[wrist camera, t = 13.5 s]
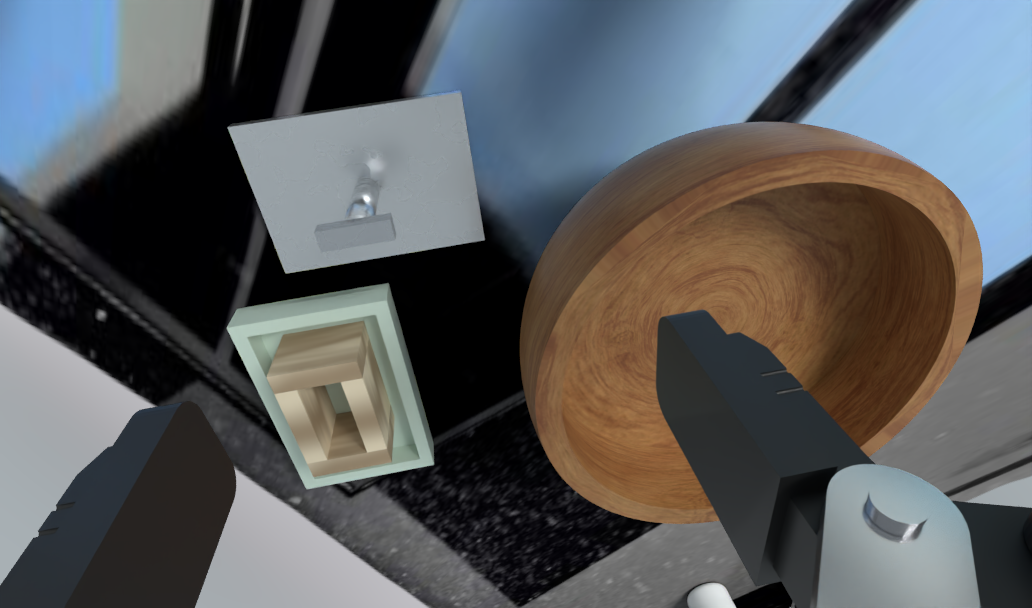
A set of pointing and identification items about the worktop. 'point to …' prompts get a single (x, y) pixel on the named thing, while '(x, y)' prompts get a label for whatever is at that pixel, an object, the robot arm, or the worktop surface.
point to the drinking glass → (710, 597)
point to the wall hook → (363, 180)
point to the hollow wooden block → (309, 408)
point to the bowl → (743, 296)
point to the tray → (374, 305)
